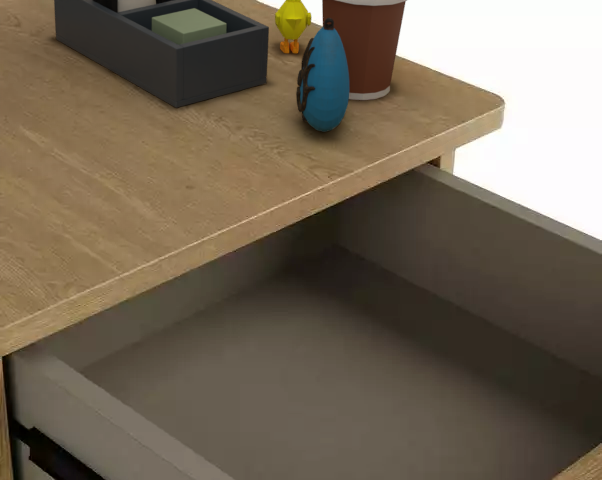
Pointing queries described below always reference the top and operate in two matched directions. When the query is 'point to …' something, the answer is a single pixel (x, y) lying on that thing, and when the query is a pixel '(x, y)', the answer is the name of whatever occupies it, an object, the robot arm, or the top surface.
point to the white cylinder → (133, 4)
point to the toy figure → (292, 23)
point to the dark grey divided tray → (167, 48)
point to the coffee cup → (367, 42)
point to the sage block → (187, 26)
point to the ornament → (323, 80)
